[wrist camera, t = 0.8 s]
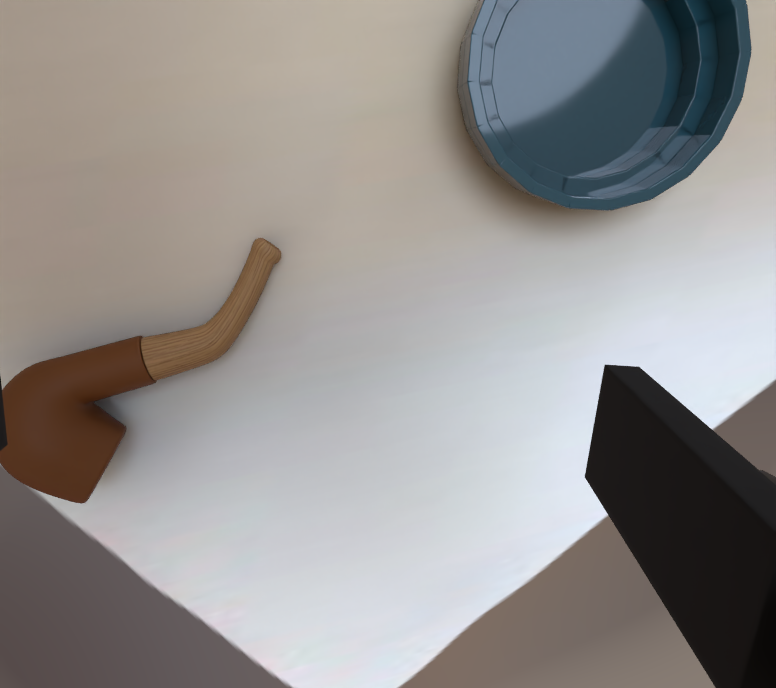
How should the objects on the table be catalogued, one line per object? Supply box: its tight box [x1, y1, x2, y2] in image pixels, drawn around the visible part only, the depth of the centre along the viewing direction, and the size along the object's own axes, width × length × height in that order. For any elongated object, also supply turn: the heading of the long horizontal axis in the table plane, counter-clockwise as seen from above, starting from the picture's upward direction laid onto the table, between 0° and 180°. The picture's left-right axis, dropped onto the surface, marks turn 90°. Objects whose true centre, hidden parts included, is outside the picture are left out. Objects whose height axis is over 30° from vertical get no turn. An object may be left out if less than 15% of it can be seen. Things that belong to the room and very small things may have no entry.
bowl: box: [457, 0, 751, 211], centre depth 33 cm, size 13×13×4 cm
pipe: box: [0, 238, 281, 503], centre depth 36 cm, size 7×19×6 cm, turn 136°
